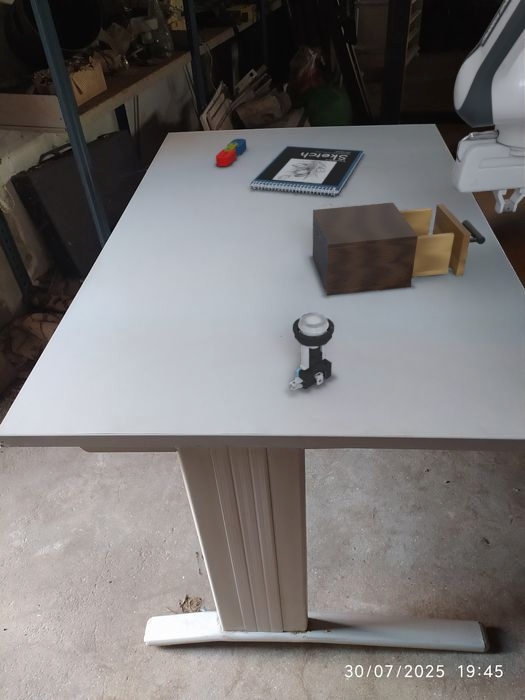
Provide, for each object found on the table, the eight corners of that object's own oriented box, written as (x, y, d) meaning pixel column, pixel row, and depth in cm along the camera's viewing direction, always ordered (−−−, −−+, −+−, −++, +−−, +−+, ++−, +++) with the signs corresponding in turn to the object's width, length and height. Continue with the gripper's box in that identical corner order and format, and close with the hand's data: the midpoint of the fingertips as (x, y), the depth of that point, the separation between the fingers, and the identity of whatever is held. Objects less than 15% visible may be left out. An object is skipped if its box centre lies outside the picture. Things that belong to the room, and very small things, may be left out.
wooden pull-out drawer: (458, 240, 103) (465, 201, 98) (486, 273, 93) (496, 231, 88) (367, 249, 102) (370, 210, 97) (385, 283, 92) (390, 241, 87)
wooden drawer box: (388, 250, 103) (393, 202, 97) (410, 287, 92) (418, 235, 86) (312, 257, 102) (312, 209, 96) (326, 295, 91) (328, 244, 86)
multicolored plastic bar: (228, 168, 143) (227, 156, 141) (214, 167, 144) (213, 156, 142) (248, 148, 155) (247, 137, 154) (235, 147, 156) (234, 136, 155)
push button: (304, 402, 71) (303, 342, 65) (278, 382, 75) (275, 323, 68) (340, 380, 74) (343, 320, 68) (314, 362, 78) (314, 303, 72)
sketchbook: (362, 155, 146) (363, 147, 145) (337, 198, 124) (337, 189, 123) (287, 150, 152) (286, 142, 151) (249, 190, 130) (249, 181, 129)
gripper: (468, 139, 81) (453, 224, 90) (598, 128, 82) (571, 213, 91) (452, 127, 86) (439, 209, 95) (575, 117, 87) (551, 199, 96)
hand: (504, 211), depth 93 cm, fingers closed
